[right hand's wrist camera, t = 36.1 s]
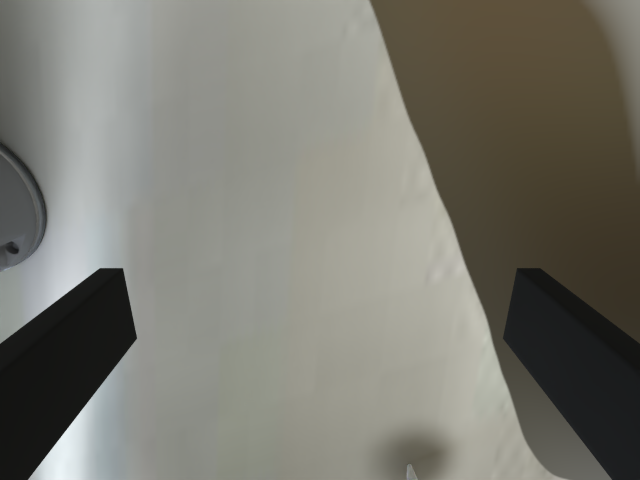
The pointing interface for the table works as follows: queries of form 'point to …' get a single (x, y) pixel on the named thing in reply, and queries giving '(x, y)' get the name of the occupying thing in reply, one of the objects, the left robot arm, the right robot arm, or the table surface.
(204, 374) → the table surface
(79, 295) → the right robot arm
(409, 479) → the mushroom
